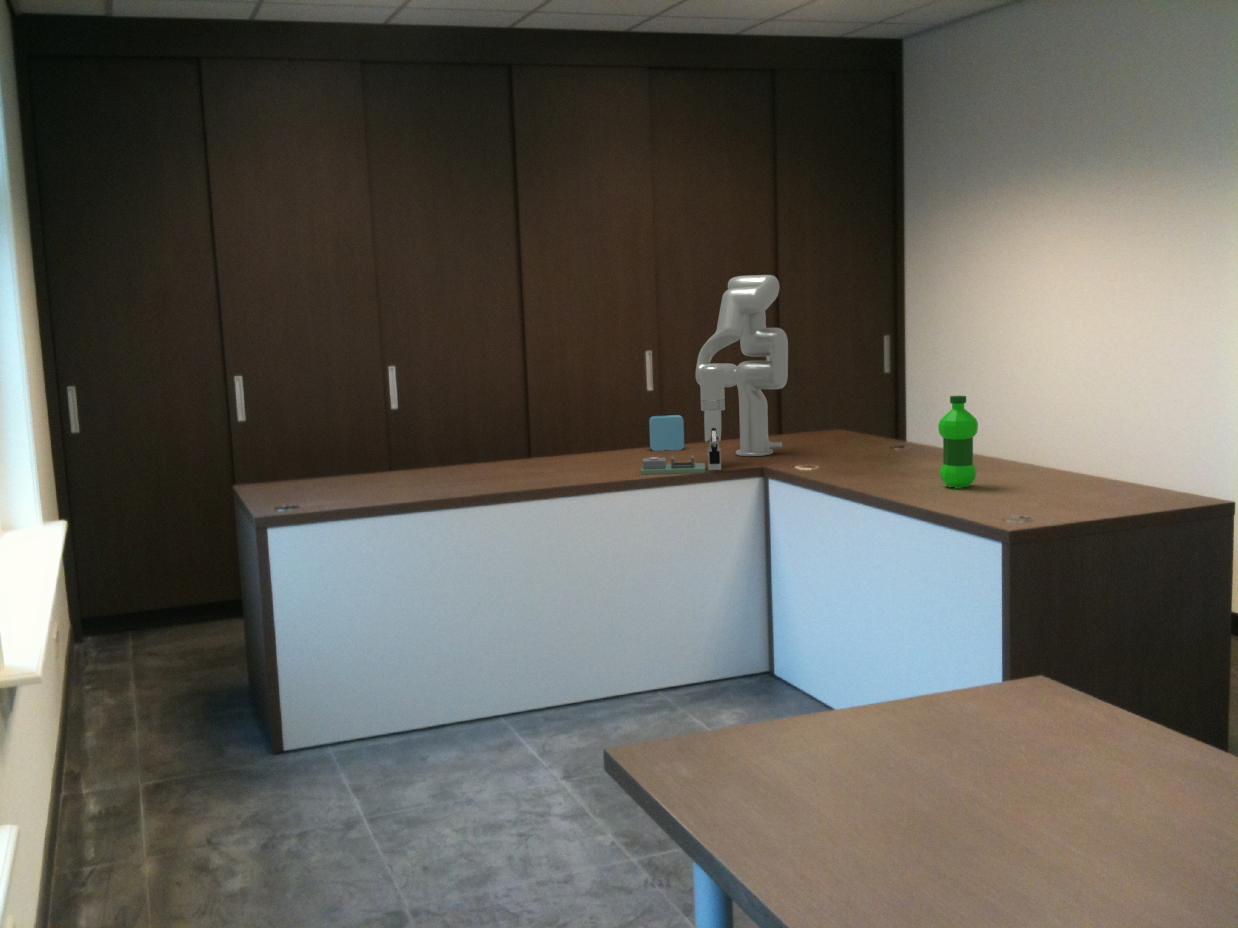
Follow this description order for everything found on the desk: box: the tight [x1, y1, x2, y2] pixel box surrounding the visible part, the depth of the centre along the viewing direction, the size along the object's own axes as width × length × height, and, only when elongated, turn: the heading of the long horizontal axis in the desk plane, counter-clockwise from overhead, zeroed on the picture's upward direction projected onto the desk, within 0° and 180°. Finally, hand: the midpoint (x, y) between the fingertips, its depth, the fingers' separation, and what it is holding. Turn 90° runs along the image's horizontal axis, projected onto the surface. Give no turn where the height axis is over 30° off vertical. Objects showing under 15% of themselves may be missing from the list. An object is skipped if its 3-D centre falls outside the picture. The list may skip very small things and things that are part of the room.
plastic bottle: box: [937, 395, 979, 488], centre depth 333 cm, size 10×10×25 cm
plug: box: [707, 445, 722, 471], centre depth 384 cm, size 4×4×7 cm
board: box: [640, 454, 706, 475], centre depth 384 cm, size 20×12×4 cm, turn 87°
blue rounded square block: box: [648, 414, 685, 452], centre depth 432 cm, size 12×4×12 cm, turn 90°
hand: (714, 461), depth 385 cm, fingers open, 5 cm apart
